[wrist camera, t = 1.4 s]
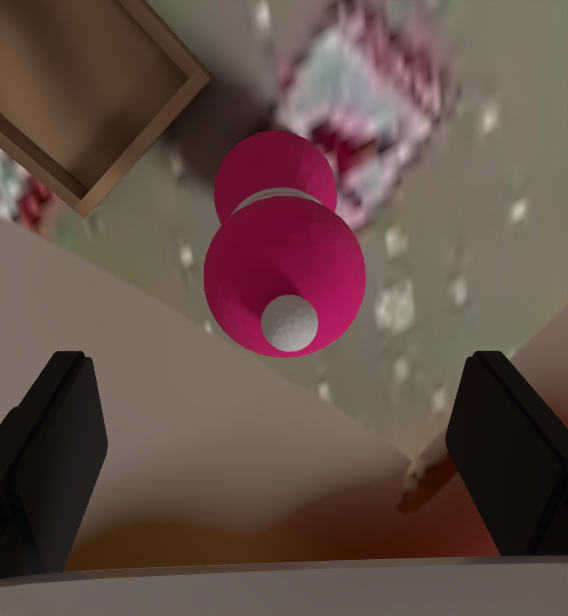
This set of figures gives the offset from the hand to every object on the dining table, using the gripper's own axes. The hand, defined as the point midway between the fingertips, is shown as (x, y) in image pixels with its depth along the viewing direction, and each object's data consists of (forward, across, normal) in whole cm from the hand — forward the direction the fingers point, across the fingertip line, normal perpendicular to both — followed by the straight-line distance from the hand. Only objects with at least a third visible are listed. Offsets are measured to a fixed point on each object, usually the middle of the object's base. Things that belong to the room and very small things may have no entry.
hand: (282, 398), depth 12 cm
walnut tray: (+22, +11, -7) cm, 26 cm away
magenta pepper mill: (+22, -1, -1) cm, 23 cm away
